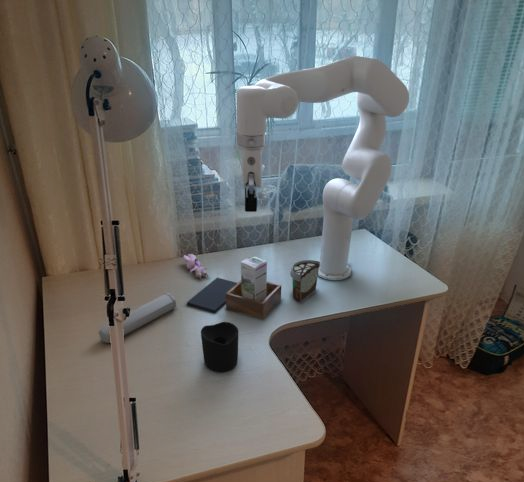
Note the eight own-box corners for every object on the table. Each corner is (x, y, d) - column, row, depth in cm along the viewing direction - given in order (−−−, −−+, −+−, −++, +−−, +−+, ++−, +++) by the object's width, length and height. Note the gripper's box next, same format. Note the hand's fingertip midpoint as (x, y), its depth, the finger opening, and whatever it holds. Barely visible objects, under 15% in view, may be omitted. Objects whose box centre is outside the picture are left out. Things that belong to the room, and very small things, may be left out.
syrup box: (267, 302, 154) (268, 260, 145) (254, 310, 150) (254, 267, 142) (253, 296, 157) (253, 254, 148) (240, 303, 153) (240, 261, 145)
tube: (107, 337, 132) (177, 299, 147) (95, 325, 133) (165, 289, 149) (107, 350, 136) (175, 312, 151) (94, 337, 137) (163, 301, 153)
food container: (302, 283, 165) (303, 255, 159) (318, 288, 162) (320, 261, 156) (281, 298, 157) (282, 270, 151) (298, 304, 154) (299, 276, 148)
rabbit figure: (212, 280, 168) (194, 257, 177) (213, 266, 164) (194, 242, 173) (195, 285, 166) (178, 260, 175) (195, 270, 162) (177, 246, 170)
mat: (217, 280, 166) (217, 277, 166) (243, 287, 163) (243, 284, 162) (187, 304, 153) (186, 302, 153) (214, 313, 150) (214, 310, 149)
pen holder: (210, 349, 135) (209, 318, 129) (243, 355, 133) (243, 324, 127) (197, 370, 128) (194, 338, 122) (231, 377, 126) (231, 345, 120)
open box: (245, 290, 161) (245, 275, 158) (280, 300, 156) (281, 285, 153) (226, 308, 152) (225, 293, 148) (262, 319, 147) (263, 303, 144)
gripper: (267, 149, 122) (265, 216, 132) (264, 132, 135) (263, 194, 146) (236, 149, 121) (236, 216, 131) (237, 131, 135) (237, 194, 145)
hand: (250, 204), depth 139 cm, fingers open, 9 cm apart
